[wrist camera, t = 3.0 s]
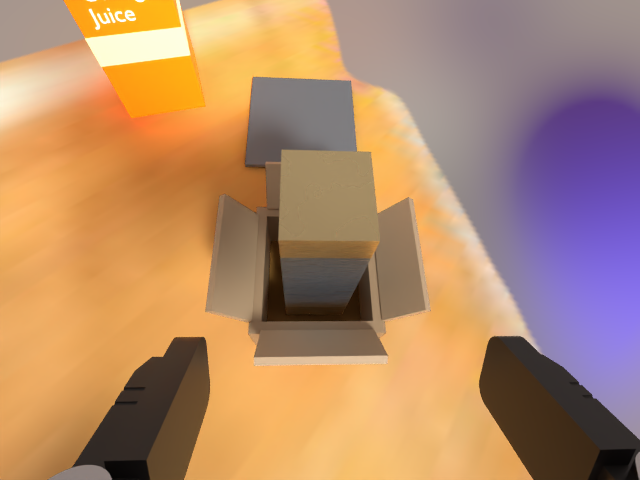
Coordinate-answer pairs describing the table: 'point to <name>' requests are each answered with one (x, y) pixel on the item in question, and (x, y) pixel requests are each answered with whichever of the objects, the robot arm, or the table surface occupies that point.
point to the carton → (313, 336)
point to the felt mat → (298, 118)
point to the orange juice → (142, 52)
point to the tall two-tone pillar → (325, 228)
